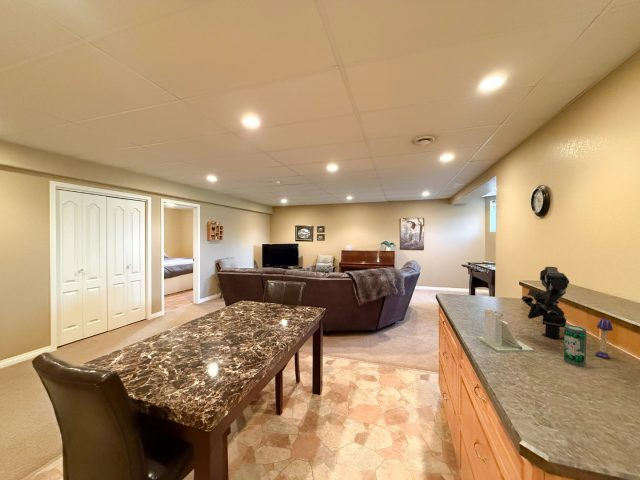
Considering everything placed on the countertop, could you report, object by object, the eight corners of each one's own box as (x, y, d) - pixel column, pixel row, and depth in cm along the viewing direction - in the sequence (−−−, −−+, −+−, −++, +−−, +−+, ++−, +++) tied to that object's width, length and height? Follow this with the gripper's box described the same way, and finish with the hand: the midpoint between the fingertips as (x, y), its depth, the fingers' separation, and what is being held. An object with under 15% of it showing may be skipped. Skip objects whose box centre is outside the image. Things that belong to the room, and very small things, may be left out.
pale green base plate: (509, 337, 129) (509, 333, 129) (534, 351, 114) (534, 346, 114) (477, 338, 129) (477, 333, 129) (497, 352, 114) (497, 347, 114)
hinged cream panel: (500, 335, 128) (488, 312, 128) (520, 346, 116) (507, 321, 115) (499, 336, 128) (487, 313, 128) (518, 347, 116) (505, 322, 115)
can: (561, 360, 106) (562, 326, 106) (568, 357, 109) (569, 324, 108) (580, 367, 101) (581, 331, 100) (587, 364, 103) (588, 329, 103)
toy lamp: (606, 355, 111) (607, 318, 110) (615, 360, 106) (616, 322, 106) (592, 353, 112) (593, 317, 112) (600, 358, 108) (601, 320, 107)
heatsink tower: (493, 339, 126) (493, 309, 125) (504, 346, 118) (505, 315, 117) (484, 339, 126) (484, 309, 125) (495, 346, 118) (495, 315, 117)
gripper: (525, 280, 131) (503, 301, 131) (558, 288, 112) (533, 312, 112) (539, 295, 131) (518, 315, 131) (575, 305, 112) (550, 329, 112)
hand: (528, 317), depth 122 cm, fingers closed
